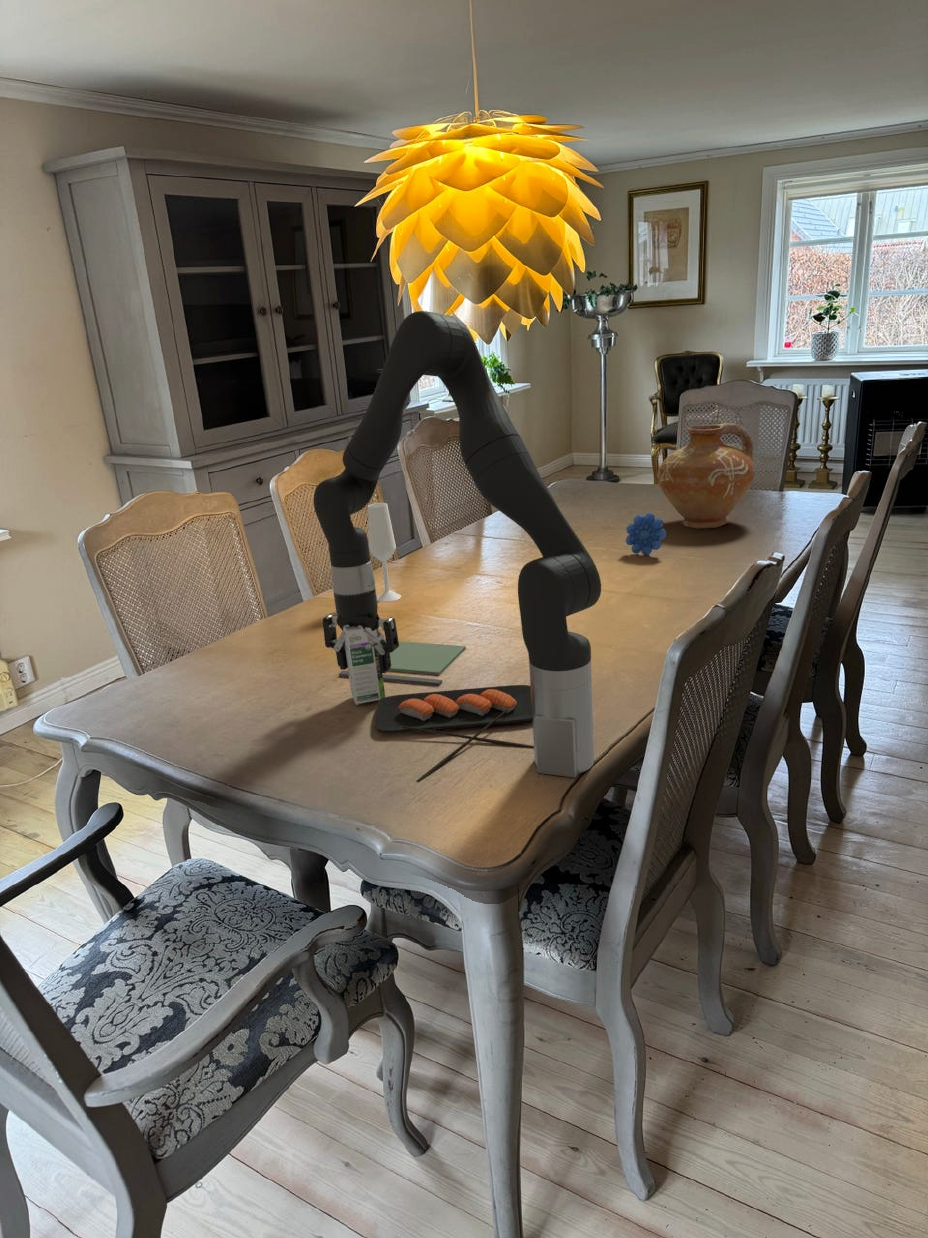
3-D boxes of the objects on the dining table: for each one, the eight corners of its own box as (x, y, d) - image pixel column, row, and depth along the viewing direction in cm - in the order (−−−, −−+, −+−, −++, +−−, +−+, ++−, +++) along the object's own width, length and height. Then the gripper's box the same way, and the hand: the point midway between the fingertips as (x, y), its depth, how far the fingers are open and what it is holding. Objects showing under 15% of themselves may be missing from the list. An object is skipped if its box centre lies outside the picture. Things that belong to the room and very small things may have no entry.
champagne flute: (397, 601, 215) (386, 507, 207) (371, 601, 217) (360, 508, 208) (404, 593, 221) (394, 501, 213) (379, 593, 223) (368, 502, 215)
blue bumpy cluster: (671, 552, 237) (672, 510, 233) (662, 559, 231) (662, 515, 227) (632, 549, 243) (631, 507, 239) (622, 555, 238) (621, 513, 234)
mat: (439, 675, 169) (439, 672, 169) (359, 667, 176) (358, 665, 176) (465, 648, 181) (465, 646, 181) (389, 643, 188) (389, 640, 188)
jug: (650, 516, 277) (649, 422, 267) (739, 510, 276) (742, 415, 265) (666, 538, 251) (666, 435, 241) (765, 532, 249) (769, 427, 239)
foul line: (439, 685, 164) (438, 683, 164) (339, 676, 173) (338, 673, 173) (442, 682, 166) (442, 679, 166) (342, 673, 174) (342, 670, 174)
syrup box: (355, 705, 158) (345, 631, 153) (350, 693, 163) (340, 621, 158) (386, 700, 159) (376, 626, 154) (380, 688, 164) (371, 616, 160)
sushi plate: (535, 692, 160) (533, 673, 158) (556, 773, 131) (555, 751, 130) (379, 705, 160) (376, 686, 158) (366, 790, 131) (363, 768, 130)
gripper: (308, 591, 153) (321, 675, 159) (379, 594, 148) (390, 681, 153) (330, 579, 160) (341, 659, 165) (398, 581, 155) (408, 665, 160)
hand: (365, 670), depth 159 cm, fingers closed on syrup box, 8 cm apart
